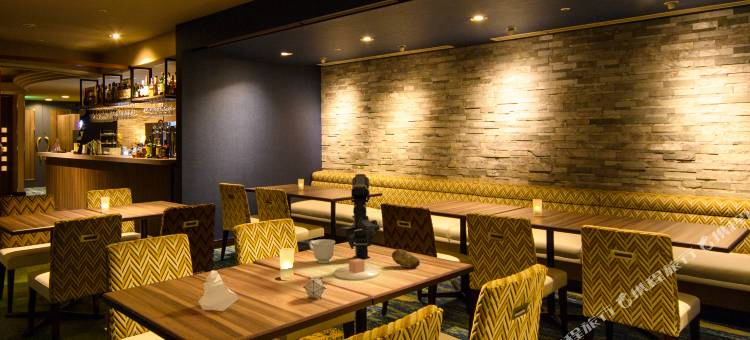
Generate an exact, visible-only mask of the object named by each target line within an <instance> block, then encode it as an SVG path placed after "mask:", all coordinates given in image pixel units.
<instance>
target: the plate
mask: <svg viewBox="0 0 750 340" xmlns="http://www.w3.org/2000/svg"><path fill="white" fill-rule="evenodd" d="M333 274H334V277H336V278H338V279H342V280H348V281H361V280H362V281H365V280H370V279H373V278H376V277H378V276H379V275H380V270H379V269H378V268H376V267H374V266H373V267H372V266H368V265H367V266H366V265H365V272H360V273H353V272H350V271H349V265H348V266H343V267H339V268H336V269H335V270H334V273H333Z"/></svg>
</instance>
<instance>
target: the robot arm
mask: <svg viewBox="0 0 750 340" xmlns="http://www.w3.org/2000/svg"><path fill="white" fill-rule="evenodd" d="M354 175H355V176H353V178H352V180H351V181H352V182H351V183H352V184H351V187H352V188H351V194H350V195H351V198H350V200H351V201H350V202H351V203H353V209H352V210H353V211H352V212H353V215H351V218H352V219H353V224H352V227H351V226H341V228H340V229H339V233H340V235H341V234H342V236H344V237H345V238H346V240H347V242H348V245H349V247H350V249H351V250H354V248H355V251H354V252H355V255H353V256H352V258H354V259H361V260H364V259H370V258H371V256H370V255H369V249H368V247H371V246H372V240H373V237H374V235H375V234H376V233H378V231H380V230H381V226H380V224H379V223H378V220H376V219H373V220H370V219H369V216H368V215H367V203H369V201H370V197H371V196H370V194H371V193H370V178H369V177H367V175H366V174H365V173H357V174H354Z"/></svg>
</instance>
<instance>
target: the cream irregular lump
mask: <svg viewBox="0 0 750 340" xmlns="http://www.w3.org/2000/svg"><path fill="white" fill-rule="evenodd" d="M203 290H204V292H203V296H202V297H201V298H200V299H199V300H198V304H199V307H200V308H201V310H202V311H219V312H224V311H225V310H226V309H228V308H229V307H230V306H231V305H233V304H234V303H235V302H236V301H237V300H239V298H238V297H239V296H238V294H237V293H236V292H234V291H232V290H230V289H229V288H228V286H227V285H226V284H225V283H224V281H223V279H222V277H221V275H220V274H219V273H218V271H217V270H211V271H210V272H209V274H208V275H207V277H206V279H205V282H204V283H203Z"/></svg>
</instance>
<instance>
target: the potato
mask: <svg viewBox="0 0 750 340" xmlns="http://www.w3.org/2000/svg"><path fill="white" fill-rule="evenodd" d="M391 258H392V260H393V262H394V263H396V264H397V265H399V266H400V267H402V268H404V269H414V268H417V267H419V266H420V264H421V263H420V262H421V261H420V259H419V258H418V257H416V256H415V255H413V254H411V253H410V252H408V251H406V250H405V249H402V248H401V249H400V248H398V249H395V250H393V252H392V254H391Z"/></svg>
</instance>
